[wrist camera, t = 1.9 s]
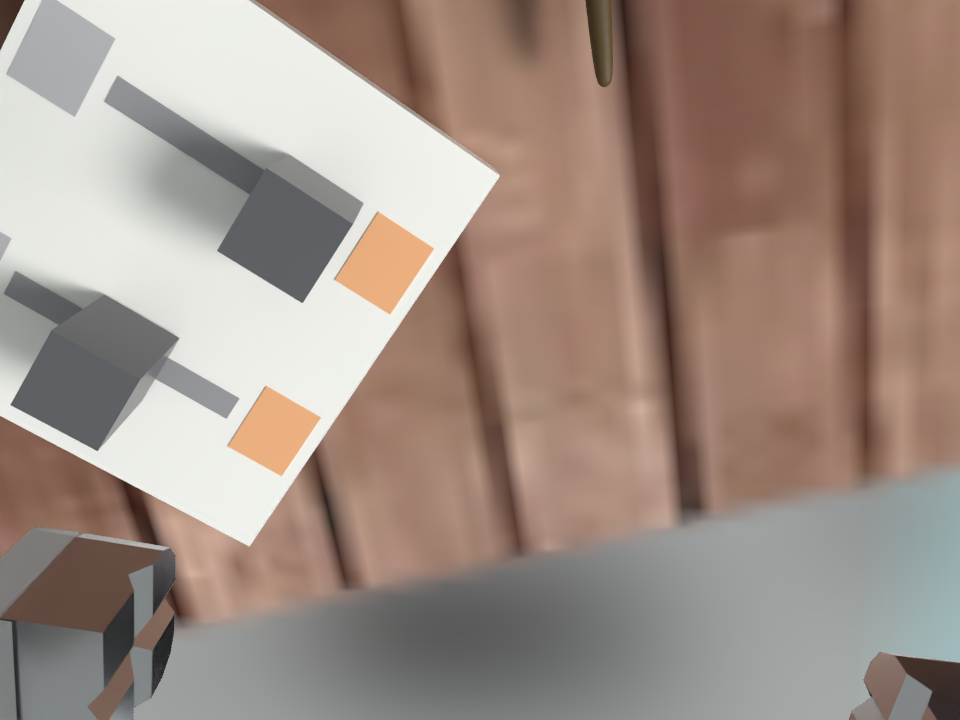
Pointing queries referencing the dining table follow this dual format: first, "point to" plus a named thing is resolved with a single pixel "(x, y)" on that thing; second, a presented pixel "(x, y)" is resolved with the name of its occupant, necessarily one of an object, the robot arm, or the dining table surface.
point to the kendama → (601, 39)
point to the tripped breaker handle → (94, 371)
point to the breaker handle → (290, 227)
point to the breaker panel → (209, 230)
